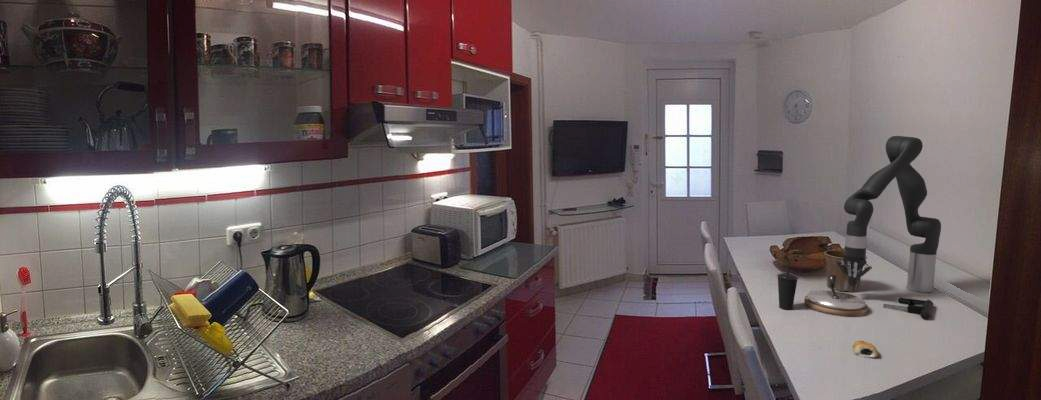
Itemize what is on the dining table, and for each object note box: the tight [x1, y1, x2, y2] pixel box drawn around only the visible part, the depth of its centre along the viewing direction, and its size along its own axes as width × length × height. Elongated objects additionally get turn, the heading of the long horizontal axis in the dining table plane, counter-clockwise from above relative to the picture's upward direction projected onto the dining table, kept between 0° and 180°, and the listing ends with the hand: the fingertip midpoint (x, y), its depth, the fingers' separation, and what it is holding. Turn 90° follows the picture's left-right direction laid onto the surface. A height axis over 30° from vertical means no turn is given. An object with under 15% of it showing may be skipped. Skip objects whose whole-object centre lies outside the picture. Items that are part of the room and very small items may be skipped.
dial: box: [806, 275, 866, 310], centre depth 201 cm, size 26×20×7 cm
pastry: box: [852, 340, 879, 359], centre depth 158 cm, size 9×7×4 cm
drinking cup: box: [776, 260, 799, 311], centre depth 197 cm, size 8×8×20 cm
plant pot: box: [824, 249, 868, 293], centre depth 221 cm, size 16×16×16 cm
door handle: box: [882, 297, 936, 320], centre depth 195 cm, size 3×20×16 cm
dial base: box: [803, 294, 869, 318], centre depth 199 cm, size 22×22×2 cm
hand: (852, 285), depth 206 cm, fingers closed
